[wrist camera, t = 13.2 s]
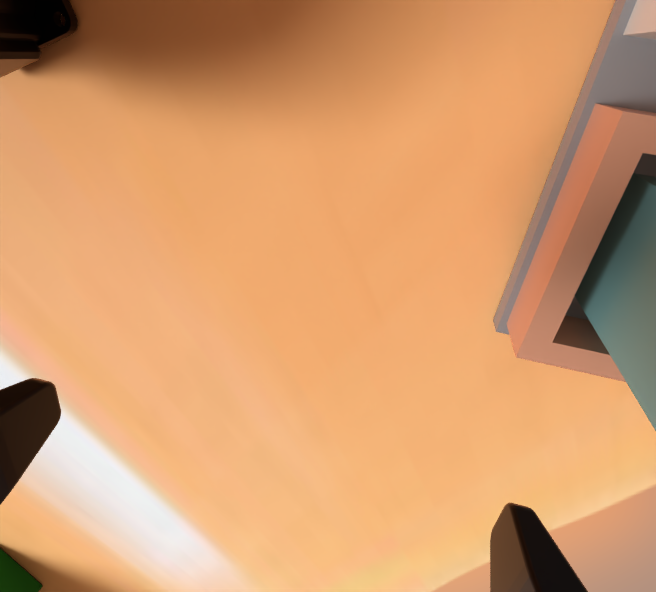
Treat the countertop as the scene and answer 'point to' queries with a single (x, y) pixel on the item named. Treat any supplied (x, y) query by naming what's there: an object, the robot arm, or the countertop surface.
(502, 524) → the robot arm
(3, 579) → the milk carton
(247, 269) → the countertop surface
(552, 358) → the organiser
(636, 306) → the plug
